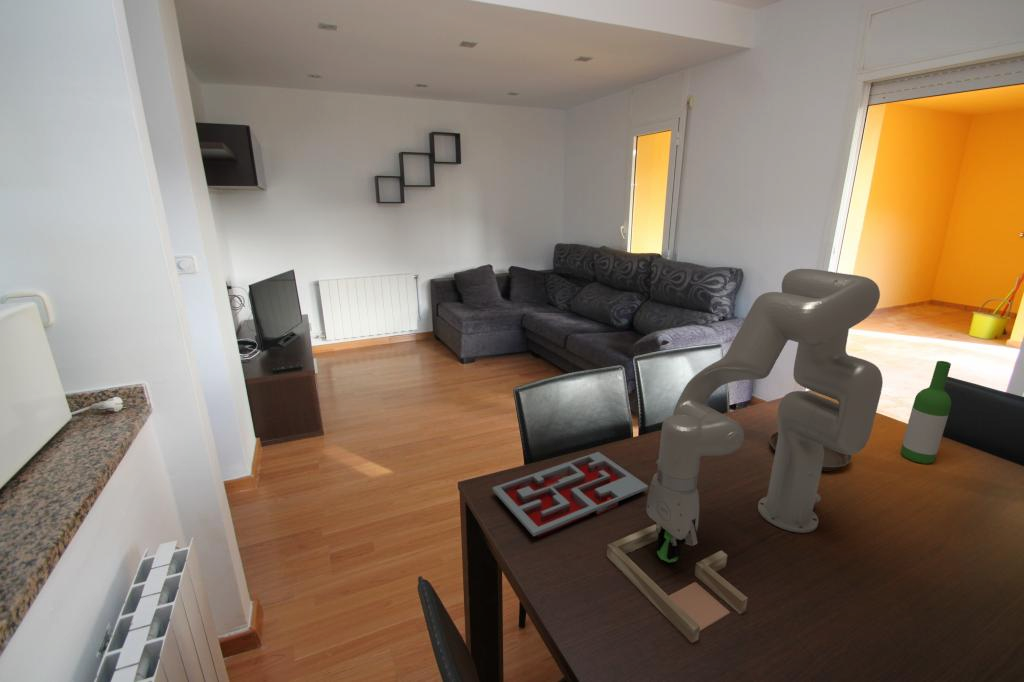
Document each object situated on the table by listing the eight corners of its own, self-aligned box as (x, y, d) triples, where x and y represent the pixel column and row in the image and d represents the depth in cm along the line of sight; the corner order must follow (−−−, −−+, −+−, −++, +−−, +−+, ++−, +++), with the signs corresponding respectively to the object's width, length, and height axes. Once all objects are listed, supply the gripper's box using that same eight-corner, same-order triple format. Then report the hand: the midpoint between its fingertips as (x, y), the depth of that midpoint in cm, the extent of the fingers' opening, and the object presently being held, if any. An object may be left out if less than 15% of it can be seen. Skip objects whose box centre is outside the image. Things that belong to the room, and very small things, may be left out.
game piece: (682, 556, 97) (685, 532, 95) (669, 565, 94) (672, 541, 92) (665, 544, 100) (668, 521, 98) (652, 553, 98) (655, 529, 96)
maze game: (533, 545, 102) (533, 533, 102) (492, 498, 119) (492, 487, 118) (647, 496, 119) (648, 486, 118) (597, 461, 135) (598, 451, 134)
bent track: (674, 526, 108) (675, 515, 107) (765, 598, 88) (768, 585, 87) (606, 556, 99) (607, 544, 98) (692, 643, 79) (693, 630, 78)
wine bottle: (931, 455, 137) (959, 360, 128) (936, 468, 131) (966, 369, 122) (897, 448, 141) (923, 356, 132) (901, 460, 135) (928, 363, 126)
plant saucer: (807, 480, 126) (809, 470, 125) (752, 443, 145) (754, 434, 144) (867, 470, 130) (870, 460, 129) (807, 435, 149) (809, 426, 148)
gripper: (634, 462, 97) (628, 535, 102) (696, 504, 83) (685, 586, 88) (661, 453, 100) (653, 524, 105) (724, 492, 86) (712, 571, 92)
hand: (668, 551), depth 97 cm, fingers closed on game piece, 2 cm apart
